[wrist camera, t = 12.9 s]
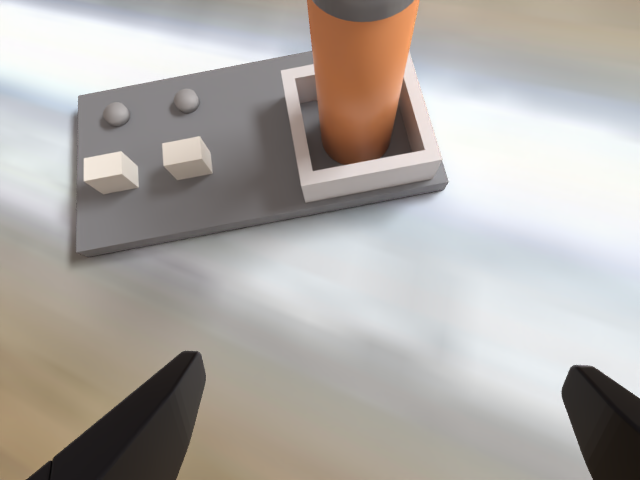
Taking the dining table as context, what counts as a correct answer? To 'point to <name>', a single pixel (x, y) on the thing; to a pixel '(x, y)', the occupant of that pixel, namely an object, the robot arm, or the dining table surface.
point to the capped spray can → (359, 72)
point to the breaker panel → (231, 155)
